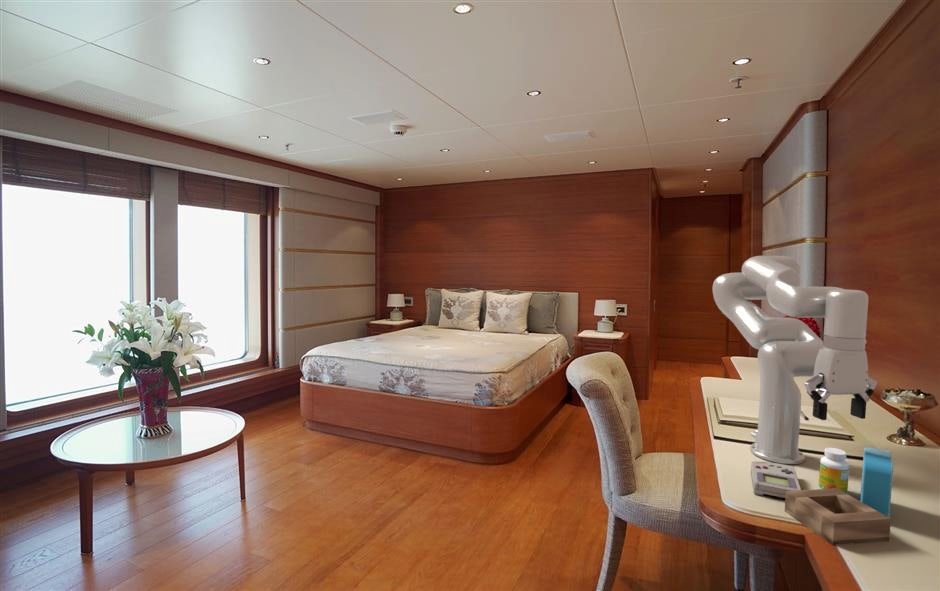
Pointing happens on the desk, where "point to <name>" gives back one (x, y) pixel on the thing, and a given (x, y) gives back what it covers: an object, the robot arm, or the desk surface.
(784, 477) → the handheld gaming console
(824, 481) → the supplement bottle
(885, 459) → the data package
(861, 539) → the walnut pocket block
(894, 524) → the desk surface
